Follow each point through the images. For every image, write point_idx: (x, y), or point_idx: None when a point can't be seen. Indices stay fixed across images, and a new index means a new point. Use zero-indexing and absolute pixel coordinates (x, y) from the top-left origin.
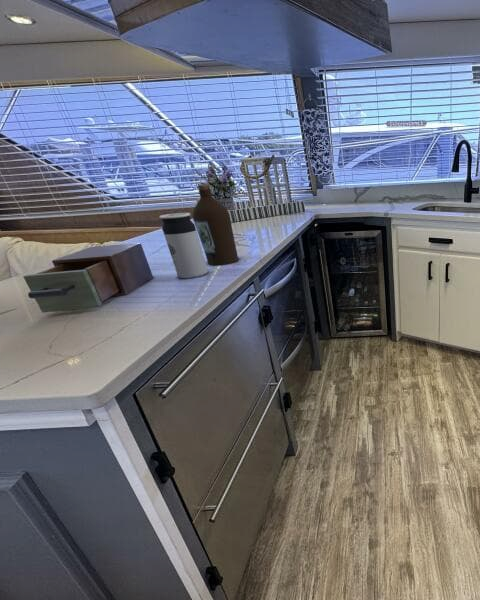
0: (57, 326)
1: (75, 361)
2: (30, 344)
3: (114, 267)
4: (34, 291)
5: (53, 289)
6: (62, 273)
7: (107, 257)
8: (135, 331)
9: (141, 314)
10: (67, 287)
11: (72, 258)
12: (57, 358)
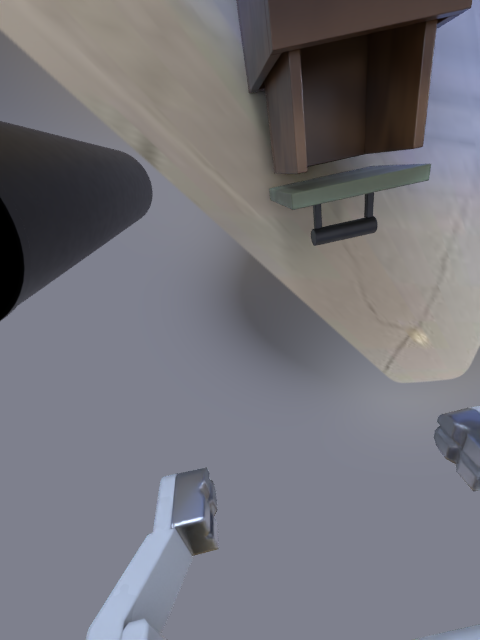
0: (333, 248)
1: (422, 338)
2: (338, 302)
3: None
4: (326, 239)
5: (361, 231)
6: (380, 190)
7: (455, 13)
8: (464, 273)
9: (454, 209)
10: (369, 203)
11: (336, 24)
12: (399, 333)
